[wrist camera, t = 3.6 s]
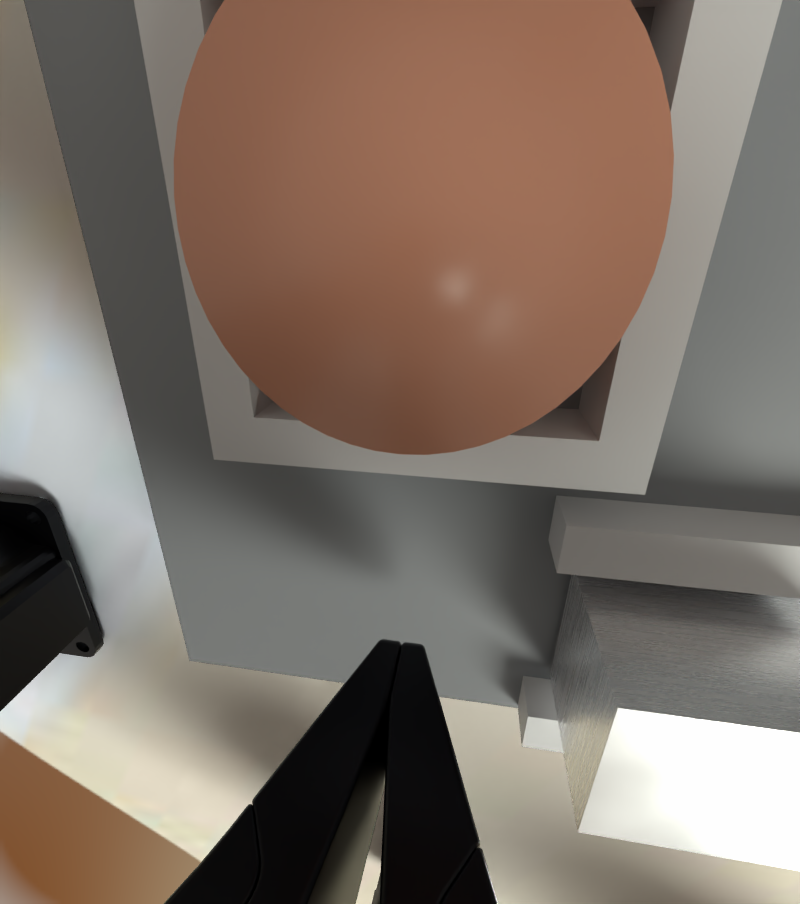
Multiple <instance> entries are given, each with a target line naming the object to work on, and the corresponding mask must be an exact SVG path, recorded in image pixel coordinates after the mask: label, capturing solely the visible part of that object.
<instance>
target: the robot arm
mask: <svg viewBox="0 0 800 904" xmlns="http://www.w3.org/2000/svg"><path fill="white" fill-rule="evenodd" d="M103 644H104V641H103V638H102V635H101V632H100V629H99V626H98V623H97V621H96V618H95V615H94V612H93V609H92V606H91V604H90V601H89V598H88V595H87V592H86V589H85V587H84V584H83V581H82V578H81V575H80V572H79V570H78V567H77V564H76V561H75V558H74V555H73V553H72V550H71V547H70V544H69V541H68V538H67V536H66V533H65V530H64V527H63V524H62V521H61V519H60V516H59V513H58V511H57V509H56V507H55V506H54V505H53V504H52V503H51V502H49V501H48V500H46V499H43V498H40V497H31V496H20V495H10V494H0V711H1V710H2V709H3V708H4V707H5V706H6V705H7V704H8V703H9V702H10V701H11V700H12V699H13V698H14V697H15V696H16V695H17V694H19V693H20V692H21V691H22V690H23V689H24V688H25V687H26V686H27V685H28V684H29V683H30V682H31V681H32V680H33V679H34V678H35V677H36V676H37V675H38V674H39V673H40V672H41V671H42V670H43V669H44V668H45V667H46V666H47V665H48V664H49V663H50V662H51V661H52V660H53V659H54V658H55V657H56V656H57V655H58V654H59V653H63V654H70V655H77V656H83V657H92V656H94V655H95V654H96V653H97V652H98V651H99V650H100V648H101V647H102V646H103ZM384 787H385V794H384V814H383V835H382V856H381V877H380V898H379V904H498V901H497V898H496V895H495V892H494V888H493V885H492V882H491V879H490V875H489V872H488V868H487V865H486V861H485V858H484V854H483V851H482V849H481V848H479V847H480V841H479V837H478V834H477V830H476V827H475V823H474V820H473V816H472V813H471V809H470V805H469V802H468V798H467V795H466V791H465V788H464V784H463V781H462V777H461V774H460V770H459V767H458V763H457V759H456V756H455V752H454V749H453V745H452V742H451V738H450V735H449V731H448V728H447V724H446V721H445V717H444V713H443V710H442V706H441V703H440V699H439V696H438V692H437V689H436V685H435V682H434V678H433V675H432V671H431V667H430V664H429V660H428V657H427V653H426V650H425V647H424V646H423V645H422V644H418V643H410V642H404V643H403V644H401V642H399V641H395V640H387V639H381V640H379V641H378V642H377V644H376V645H375V646H374V647H373V649H372V650H371V651H370V652H369V654H368V655H367V656H366V657H365V659H364V660H363V661H362V662H361V664H360V665H359V666H358V667H357V669H356V670H355V671H354V673H353V674H352V675H351V676H350V678H349V679H348V680H347V681H346V683H345V684H344V685H343V686H342V688H341V689H340V690H339V691H338V693H337V694H336V695H335V696H334V698H333V699H332V700H331V701H330V703H329V704H328V705H327V707H326V708H325V709H324V710H323V712H322V713H321V714H320V715H319V717H318V718H317V719H316V720H315V722H314V723H313V724H312V725H311V727H310V728H309V729H308V730H307V732H306V733H305V734H304V736H303V737H302V738H301V739H300V741H299V742H298V743H297V744H296V746H295V747H294V748H293V749H292V751H291V752H290V753H289V754H288V756H287V757H286V758H285V759H284V761H283V762H282V763H281V764H280V766H279V767H278V768H277V770H276V771H275V772H274V773H273V775H272V776H271V777H270V778H269V780H268V781H267V782H266V783H265V785H264V786H263V787H262V788H261V790H260V791H259V792H258V793H257V795H256V796H255V797H254V799H253V801H252V803H253V806H252V804H249V805H248V806H247V807H246V808H245V809H244V811H243V812H242V813H241V815H240V816H239V817H238V818H237V820H236V821H235V822H234V823H233V825H232V826H231V827H230V828H229V830H228V831H227V832H226V833H225V834H224V836H223V837H222V838H221V839H220V840H219V842H218V843H217V844H216V845H215V846H214V848H213V849H212V850H211V851H210V852H209V854H208V855H207V856H206V857H205V858H204V860H203V861H202V862H201V863H200V864H199V866H198V867H197V868H196V869H195V870H194V871H193V872H192V873H191V874H190V875H189V876H188V878H187V879H186V880H185V881H184V882H183V883H182V884H181V885H180V887H178V889H177V890H176V891H175V892H174V893H173V894H172V895H171V896H170V897H169V898H168V899H167V901H166V902H165V903H164V904H356V900H357V896H358V892H359V887H360V883H361V879H362V875H363V871H364V867H365V863H366V859H367V855H368V851H369V847H370V843H371V839H372V835H373V831H374V827H375V823H376V819H377V815H378V811H379V807H380V803H381V799H382V795H383V791H384Z"/></svg>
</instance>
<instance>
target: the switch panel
mask: <svg viewBox="0 0 800 904" xmlns="http://www.w3.org/2000/svg"><path fill="white" fill-rule="evenodd" d="M630 1H631V2H632V4H633V6H634V8H635V10H636V12H637V13H638V15H639V17H640V19H641V21H642V23H643V24H644V26H645V28H646V30H647V33H648V35H649V38H650V41H651V44H652V46H653V49H654V52H655V54H656V57H657V60H658V63H659V65H660V68H661V71H662V75H663V80H664V85H665V89H666V94H667V99H668V103H669V108H670V113H671V124H672V137H673V150H674V165H673V186H672V199H671V205H670V211H669V217H668V223H667V228H666V234H665V238H664V242H663V245H662V248H661V252H660V255H659V258H658V262H657V265H656V268H655V272H654V274H653V277H652V279H651V281H650V284H649V286H648V288H647V291H646V293H645V295H644V298H643V300H642V302H641V305H640V307H639V309H638V310H637V312H636V314H635V315H634V317H633V319H632V321H631V322H630V324H629V326H628V328H627V329H626V331H625V333H624V335H623V336H622V338H621V339H620V341H619V342H618V343H617V345H616V346H615V347H614V349H613V350H612V351H611V353H610V354H609V355H608V357H607V358H606V359H605V361H604V362H603V363H602V365H601V366H600V367H599V368H598V369H597V370H596V371H595V372H594V373H593V374H592V375H591V376H590V377H589V378H588V380H587V381H586V382H585V383H584V384H583V385H582V386H581V387H580V388H579V389H578V390H576V391H575V392H574V393H573V394H572V395H571V396H569V397H568V398H567V399H566V400H565V401H563V402H562V403H561V404H560V405H559V406H557V407H556V408H555V409H553V410H552V411H550V412H549V413H547V414H546V415H544V416H543V417H541V418H540V419H538V420H537V421H535V422H534V423H532V424H530V425H528V426H526V427H524V428H522V429H520V430H518V431H516V432H514V433H512V434H510V435H508V436H506V437H504V438H501V439H498V440H495V441H493V442H490V443H487V444H484V445H481V446H478V447H474V448H469V449H465V450H460V451H456V452H450V453H440V454H431V455H402V454H394V453H386V452H379V451H373V450H370V449H366V448H362V447H358V446H354V445H350V444H348V443H345V442H343V441H340V440H337V439H335V438H332V437H330V436H327V435H325V434H323V433H321V432H319V431H317V430H316V429H314V428H312V427H310V426H308V425H306V424H304V423H302V422H301V421H300V420H298V419H297V418H295V417H294V416H292V415H291V414H289V413H288V412H286V411H285V410H283V409H282V408H281V407H279V406H278V405H277V404H276V403H275V402H274V401H272V400H271V399H270V398H269V397H268V396H267V395H265V394H264V393H263V392H262V391H261V390H260V389H259V388H258V387H257V386H256V385H255V384H254V383H253V382H252V381H251V380H250V378H249V377H248V376H247V375H246V374H245V373H244V372H243V371H242V370H241V369H240V367H239V366H238V365H237V363H236V362H235V361H234V359H233V358H232V357H231V355H230V354H229V353H228V351H227V350H226V349H225V347H224V346H223V344H222V342H221V341H220V339H219V337H218V336H217V334H216V332H215V331H214V329H213V327H212V326H211V324H210V322H209V321H208V318H207V316H206V314H205V312H204V310H203V308H202V305H201V303H200V301H199V299H198V297H197V294H196V292H195V289H194V286H193V283H192V280H191V277H190V275H189V272H188V269H187V266H186V263H185V259H184V254H183V250H182V245H181V241H180V236H179V232H178V226H177V217H176V208H175V200H174V151H175V142H176V132H177V122H178V118H179V113H180V109H181V104H182V99H183V95H184V90H185V86H186V83H187V80H188V77H189V74H190V71H191V68H192V65H193V63H194V60H195V57H196V54H197V51H198V48H199V46H200V44H201V42H202V40H203V38H204V36H205V34H206V32H207V30H208V28H209V26H210V24H211V22H212V20H213V18H214V16H215V14H216V12H217V11H218V9H219V8H220V6H221V5H222V3H223V2H224V0H24V2H25V6H26V10H27V14H28V18H29V22H30V26H31V30H32V34H33V38H34V42H35V46H36V50H37V54H38V58H39V62H40V66H41V70H42V74H43V78H44V82H45V86H46V90H47V94H48V98H49V102H50V106H51V110H52V114H53V118H54V122H55V126H56V130H57V134H58V138H59V142H60V146H61V150H62V154H63V158H64V162H65V166H66V170H67V174H68V177H69V181H70V185H71V189H72V193H73V197H74V201H75V205H76V209H77V213H78V217H79V221H80V225H81V229H82V233H83V237H84V241H85V245H86V249H87V253H88V257H89V261H90V265H91V269H92V273H93V277H94V281H95V285H96V289H97V293H98V297H99V301H100V305H101V309H102V313H103V317H104V321H105V325H106V329H107V333H108V337H109V341H110V345H111V349H112V353H113V357H114V361H115V365H116V369H117V373H118V377H119V381H120V385H121V389H122V393H123V397H124V401H125V405H126V409H127V413H128V417H129V421H130V425H131V429H132V433H133V437H134V441H135V445H136V449H137V453H138V457H139V460H140V464H141V468H142V472H143V476H144V480H145V484H146V488H147V492H148V496H149V500H150V504H151V508H152V512H153V516H154V520H155V524H156V528H157V532H158V536H159V540H160V544H161V548H162V552H163V556H164V560H165V564H166V568H167V572H168V576H169V580H170V584H171V588H172V592H173V596H174V600H175V604H176V608H177V612H178V616H179V620H180V624H181V628H182V632H183V636H184V640H185V644H186V648H187V652H188V656H189V660H190V661H195V662H202V663H209V664H216V665H223V666H230V667H237V668H244V669H251V670H258V671H264V672H271V673H278V674H285V675H292V676H299V677H306V678H313V679H320V680H327V681H334V682H341V683H346V681H347V680H348V679H349V678H350V676H351V675H352V674H353V673H354V671H355V670H356V669H357V667H358V666H359V665H360V664H361V662H362V661H363V660H364V659H365V657H366V656H367V655H368V654H369V652H370V651H371V650H372V649H373V647H374V646H375V645H376V644H377V642H378V641H379V640H381V639H387V640H395V641H399V642H401V644H403V643H404V642H410V643H418V644H422V645H423V646H424V647H425V650H426V653H427V657H428V660H429V664H430V667H431V671H432V675H433V678H434V682H435V685H436V689H437V692H438V696H439V697H445V698H452V699H459V700H466V701H473V702H480V703H487V704H494V705H501V706H508V707H515V708H518V712H519V722H520V732H521V743H522V747H527V748H534V749H540V750H547V751H553V752H560V753H563V747H562V741H561V736H560V730H559V724H558V719H557V713H556V708H555V702H554V696H553V691H552V685H551V680H550V670H551V665H552V660H553V656H554V651H555V647H556V642H557V637H558V633H559V628H560V624H561V619H562V615H563V610H564V605H565V601H566V596H567V592H568V587H569V583H570V578H571V575H580V576H589V577H599V578H608V579H618V580H627V581H637V582H646V583H656V584H665V585H675V586H684V587H694V588H703V589H713V590H722V591H732V592H741V593H751V594H760V595H770V596H779V597H789V598H798V599H800V0H630Z"/></svg>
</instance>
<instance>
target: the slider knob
mask: <svg viewBox="0 0 800 904" xmlns="http://www.w3.org/2000/svg"><path fill="white" fill-rule="evenodd" d="M550 680H551V685H552V691H553V696H554V702H555V708H556V713H557V719H558V724H559V730H560V736H561V741H562V747H563V753H564V758H565V764H566V769H567V775H568V781H569V786H570V792H571V797H572V803H573V809H574V814H575V820H576V825H577V831H578V832H579V833H584V834H590V835H596V836H602V837H607V838H613V839H619V840H624V841H630V842H636V843H642V844H647V845H653V846H659V847H664V848H670V849H676V850H681V851H687V852H693V853H699V854H704V855H710V856H716V857H721V858H727V859H733V860H739V861H744V862H750V863H756V864H761V865H767V866H773V867H778V868H784V869H790V870H796V871H800V599H798V598H789V597H779V596H770V595H760V594H751V593H741V592H732V591H722V590H713V589H703V588H694V587H684V586H675V585H665V584H656V583H646V582H637V581H627V580H618V579H608V578H599V577H589V576H580V575H571V578H570V583H569V587H568V592H567V596H566V601H565V605H564V610H563V615H562V619H561V624H560V628H559V633H558V637H557V642H556V647H555V651H554V656H553V660H552V665H551V670H550Z"/></svg>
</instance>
